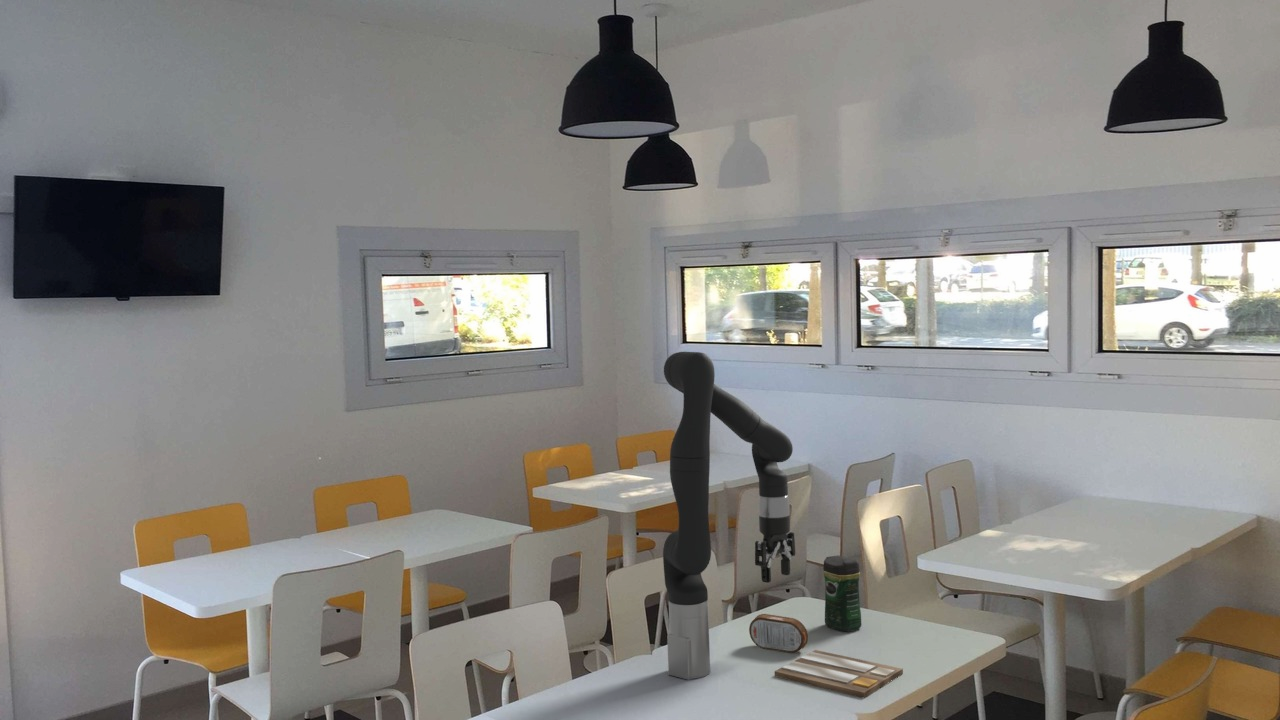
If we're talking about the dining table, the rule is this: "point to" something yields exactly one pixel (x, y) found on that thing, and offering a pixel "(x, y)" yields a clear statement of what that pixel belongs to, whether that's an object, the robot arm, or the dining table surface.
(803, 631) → the tin
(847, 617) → the coffee jar
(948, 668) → the dining table surface
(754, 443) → the robot arm
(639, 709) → the dining table surface
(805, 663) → the board
